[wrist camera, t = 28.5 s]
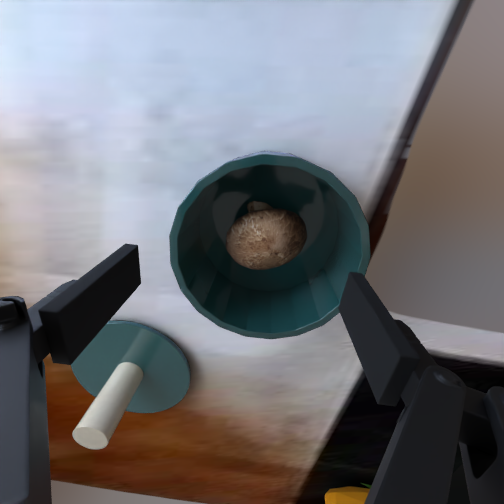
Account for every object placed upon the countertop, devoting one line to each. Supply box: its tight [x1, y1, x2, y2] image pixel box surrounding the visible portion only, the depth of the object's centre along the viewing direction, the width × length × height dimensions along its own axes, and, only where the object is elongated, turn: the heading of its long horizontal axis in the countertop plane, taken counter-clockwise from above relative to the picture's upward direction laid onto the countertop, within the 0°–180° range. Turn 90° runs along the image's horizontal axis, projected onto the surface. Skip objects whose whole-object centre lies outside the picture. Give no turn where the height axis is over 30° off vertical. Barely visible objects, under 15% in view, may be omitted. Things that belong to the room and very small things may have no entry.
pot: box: [169, 151, 371, 339], centre depth 25 cm, size 16×16×8 cm
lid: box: [71, 321, 191, 449], centre depth 33 cm, size 17×17×10 cm
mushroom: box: [226, 201, 307, 270], centre depth 26 cm, size 8×8×6 cm
